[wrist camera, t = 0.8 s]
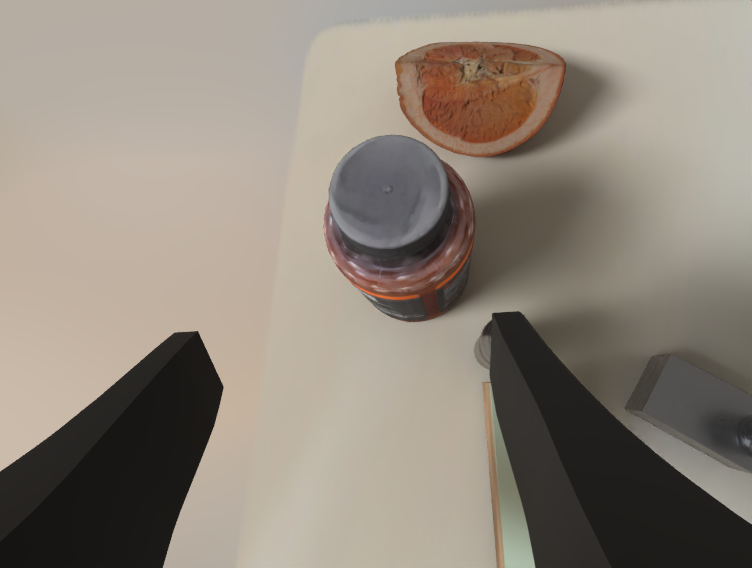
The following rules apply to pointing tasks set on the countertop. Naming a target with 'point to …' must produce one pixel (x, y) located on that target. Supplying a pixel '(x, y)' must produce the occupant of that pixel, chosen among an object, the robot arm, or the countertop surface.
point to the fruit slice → (479, 93)
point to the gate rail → (505, 497)
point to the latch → (696, 409)
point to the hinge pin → (484, 346)
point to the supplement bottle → (400, 227)
